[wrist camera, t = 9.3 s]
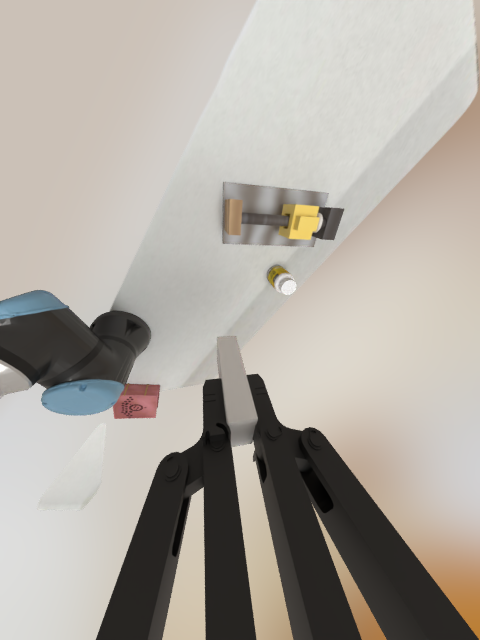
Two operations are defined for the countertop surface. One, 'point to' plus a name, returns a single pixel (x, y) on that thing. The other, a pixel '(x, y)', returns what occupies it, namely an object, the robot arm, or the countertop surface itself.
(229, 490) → the robot arm
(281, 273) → the supplement bottle
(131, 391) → the book
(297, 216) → the sleeve
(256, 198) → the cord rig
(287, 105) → the countertop surface
